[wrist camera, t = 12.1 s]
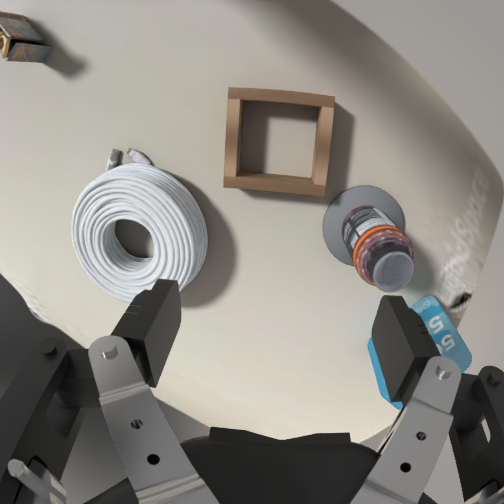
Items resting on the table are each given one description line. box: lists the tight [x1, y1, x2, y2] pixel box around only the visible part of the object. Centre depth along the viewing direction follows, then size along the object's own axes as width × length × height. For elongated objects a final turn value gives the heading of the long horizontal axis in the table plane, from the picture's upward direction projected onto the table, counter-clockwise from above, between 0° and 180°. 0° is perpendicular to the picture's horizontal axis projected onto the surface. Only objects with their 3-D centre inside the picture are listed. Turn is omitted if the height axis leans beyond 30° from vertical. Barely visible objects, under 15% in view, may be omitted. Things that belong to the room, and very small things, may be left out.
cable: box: [71, 148, 208, 304], centre depth 36 cm, size 18×18×6 cm
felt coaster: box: [323, 186, 404, 266], centre depth 35 cm, size 10×10×1 cm
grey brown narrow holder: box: [0, 12, 52, 63], centre depth 23 cm, size 11×3×10 cm, turn 42°
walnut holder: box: [223, 87, 335, 197], centre depth 31 cm, size 10×10×3 cm
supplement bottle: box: [341, 205, 415, 292], centre depth 30 cm, size 6×6×11 cm
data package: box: [368, 296, 472, 410], centre depth 36 cm, size 12×4×12 cm, turn 136°
